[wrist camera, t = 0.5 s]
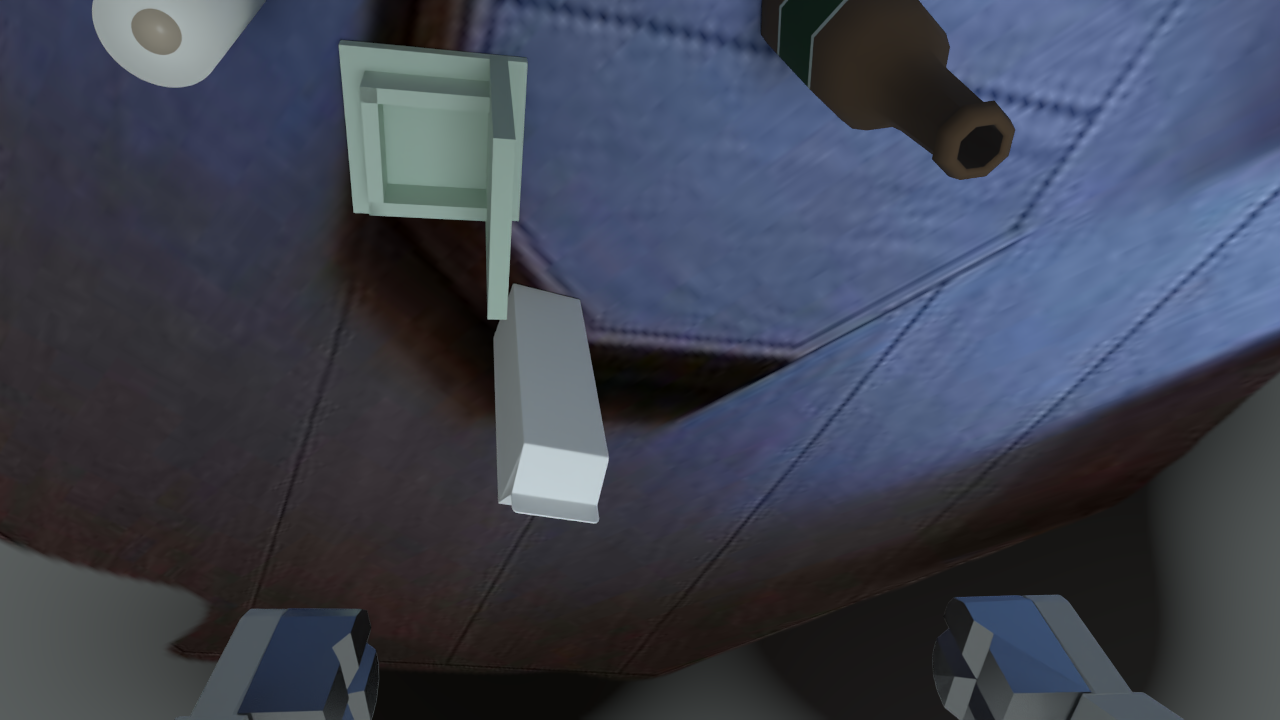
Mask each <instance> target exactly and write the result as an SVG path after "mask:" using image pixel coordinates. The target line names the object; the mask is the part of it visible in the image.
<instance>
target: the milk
mask: <svg viewBox="0 0 1280 720" xmlns="http://www.w3.org/2000/svg"><path fill="white" fill-rule="evenodd" d="M494 373H495V407H496V441H497V476H498V503H500V504H507V505H512V509H513V510H514V511H515V512H516V513H521V514H529V515H536V516H543V517H551V518H558V519H566V520H573V521H580V522H588V523H597V522H598V521H599V515H598V508H597V504H598V500H599V496H600V492H601V488H602V484H603V480H604V476H605V472H606V468H607V465H608V460H609V456H608V451H607V445H606V440H605V434H604V429H603V423H602V418H601V412H600V407H599V401H598V396H597V390H596V385H595V379H594V374H593V369H592V363H591V358H590V352H589V347H588V341H587V336H586V330H585V325H584V319H583V314H582V308H581V303H580V300H579V299H575V298H571V297H567V296H563V295H559V294H555V293H551V292H547V291H543V290H539V289H535V288H530V287H526V286H522V285H518V284H513V285H512V288H511V291H510V294H509V296H508V306H507V320H500V321H499V324H498V327H497V329H496V332H495V335H494Z"/></svg>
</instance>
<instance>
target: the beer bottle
mask: <svg viewBox="0 0 1280 720" xmlns="http://www.w3.org/2000/svg"><path fill="white" fill-rule="evenodd" d="M761 35H762V36H763V38H764V39H765V41H766V42H767V44H768V45H769V46H770V47H771V48H772V49H773V50H774V51H775V52H776V53H777V54H778V55H779V57H780V58H781V59H782V60H783V61H784V62H785V63H786V64H787V65H788V66H789V67H790V68H791V69H792V71H793V72H794V73H795V74H796V75H797V76H798V77H799V78H800V79H801V80H802V81H803V82H804V84H805V85H806V86H807V87H808V88H809V89H810V90H811V91H812V92H813V93H814V94H815V95H816V96H817V97H818V98H819V99H820V100H821V101H822V102H823V103H824V104H825V105H826V106H827V107H829V108H830V109H831V110H832V111H833V112H834V113H835V114H836V115H837V116H838V117H839V118H840V119H841V120H842V121H844V122H845V123H846V124H847V125H849V126H850V127H851V128H852V129H860V130H873V129H880V128H888V127H894V128H896V129H898V130H900V131H902V132H903V133H905V134H906V135H907V136H909V137H910V138H911V139H913V140H914V141H915V142H917V143H918V144H919V145H921V146H922V147H923V148H925V149H926V150H927V151H929V152H930V153H931V154H932V155H933V157H932V160H933V161H934V162H935V163H936V164H937V165H938V166H939V167H940V168H941V169H942V170H943V171H944V172H945V173H946V174H947V175H948V176H949V177H952V178H956V179H959V180H963V179H970V178H977V177H984V176H987V175H988V174H989V173H990V172H991V171H992V170H993V169H994V168H995V167H997V166H998V165H999V164H1000V163H1001V162H1002V161H1003V160H1004V159H1005V158H1007V157H1008V155H1009V152H1010V148H1011V144H1012V140H1013V136H1014V132H1015V128H1014V126H1013V124H1012V122H1011V120H1010V119H1009V118H1008V116H1007V115H1006V114H1005V113H1004V112H1003V110H1002V109H1001V108H1000V107H999V106H998V104H997V103H996V102H995V101H988V102H983V101H982V100H981V99H979V98H978V97H977V96H976V95H975V94H974V93H973V92H972V91H971V90H970V89H969V88H967V87H966V86H965V85H964V84H963V83H962V82H961V81H960V80H959V79H958V78H957V77H955V76H954V75H953V74H952V73H951V72H950V71H949V70H948V69H947V68H946V65H947V60H948V54H949V49H950V46H949V42H948V39H947V35H946V33H945V32H944V30H943V29H942V28H941V27H940V26H939V24H938V23H937V22H936V21H935V20H934V18H933V17H932V16H931V15H930V14H929V12H928V11H927V10H926V9H925V7H924V6H923V5H922V4H921V3H920V1H919V0H762V25H761Z"/></svg>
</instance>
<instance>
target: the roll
mask: <svg viewBox="0 0 1280 720" xmlns="http://www.w3.org/2000/svg"><path fill="white" fill-rule="evenodd" d="M265 2H266V0H93V5H92V17H93V23H94V27H95V30H96V32H97V35H98V37H99V39H100V41H101V43H102V44H103V46H104V47H105V49H106V50H107V52H108V53H109V54H110V55H111V56H112V58H113V59H114V60H115V61H116V62H117V63H118V64H120V65H121V66H122V67H123V68H124V69H126V70H127V71H128V72H130V73H131V74H133V75H135V76H136V77H138V78H140V79H142V80H144V81H147V82H149V83H152V84H155V85H159V86H164V87H175V88H176V87H186V86H190V85H193V84H196V83H198V82H200V81H202V80H203V79H205V78H206V77H207V76H208V75H209V74H210V73H211V72H212V71H213V69H214V68H215V67H216V65H217V64H218V63H219V62H220V60H221V59H222V58H223V56H224V55H225V54H226V52H227V51H228V50H229V49H230V47H231V46H232V45H233V43H234V42H235V41H236V39H237V38H238V37H239V36H240V34H241V33H242V32H243V30H244V29H245V28H246V26H247V25H248V24H249V23H250V21H251V20H252V19H253V17H254V16H255V15H256V13H257V12H258V11H259V10H260V8H261V7H262V6H263V4H264V3H265Z"/></svg>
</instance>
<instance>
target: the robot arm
mask: <svg viewBox="0 0 1280 720" xmlns="http://www.w3.org/2000/svg"><path fill="white" fill-rule="evenodd" d="M944 618H945V620H946V622H947V624H948V626H949V629H948V630H947V631H946V632H944V633H943V634H942V635H941V636H939V637H938V638H937V639H936V643H935V647H934V651H933V655H932V657H933V658H932V659H933V675H934V680H935V683H936V688H937V691H938V693H939V696H940V698H941V700H942V703H943V705H944V707H945V708H946V709H947V710H948V711H950V712H951V713H952V714H953V715H955V716H956V717H957V718H958V719H959V720H1184V719H1182V718H1181V717H1179V716H1178V715H1176V714H1175V713H1173V712H1172V711H1170V710H1169V709H1167V708H1166V707H1164V706H1163V705H1161V704H1160V703H1158V702H1157V701H1155V700H1154V699H1152V698H1151V697H1149V696H1148V695H1146V694H1145V693H1142V692H1132V691H1131V690H1130V688H1129V687H1128V686H1127V684H1126V683H1125V681H1124V680H1123V679H1122V677H1121V676H1120V674H1119V673H1118V671H1117V670H1116V668H1115V667H1114V666H1113V664H1112V663H1111V661H1110V660H1109V658H1108V657H1107V656H1106V654H1105V653H1104V651H1103V650H1102V649H1101V647H1100V646H1099V644H1098V643H1097V641H1096V640H1095V639H1094V637H1093V636H1092V634H1091V633H1090V632H1089V630H1088V629H1087V627H1086V626H1085V625H1084V623H1083V622H1082V620H1081V619H1080V618H1079V616H1078V615H1077V613H1076V612H1075V611H1074V609H1073V607H1072V606H1071V605H1070V603H1069V602H1068V601H1067V600H1066V599H1064V598H1063V597H1062V596H1060V595H1034V596H991V597H990V596H989V597H988V596H986V597H958V598H957V597H954V598H953V599H952V600H951V601H950V602H949V603H948V605H947V608H946V611H945V614H944ZM370 630H371V624H370V621H369V617H368V613H367V610H363V609H250V610H249V611H248V612H247V613H246V614H245V615H244V616H243V617H242V618H241V619H240V621H239V623H238V624H237V626H236V628H235V630H234V632H233V634H232V636H231V638H230V640H229V642H228V644H227V646H226V648H225V650H224V652H223V653H222V655H221V657H220V659H219V661H218V663H217V665H216V667H215V669H214V671H213V673H212V675H211V677H210V679H209V681H208V683H207V684H206V686H205V688H204V690H203V693H202V694H201V696H200V698H199V700H198V702H197V704H196V706H195V708H194V710H193V711H192V714H191V715H190V716H186V717H177V718H176V719H175V720H371V719H372V716H373V712H374V708H375V705H376V699H377V691H378V683H379V665H378V658H377V653H376V650H375V649H374V648H372V647H371V646H370V645H369V644H368V643H367V640H368V637H369V633H370Z"/></svg>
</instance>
